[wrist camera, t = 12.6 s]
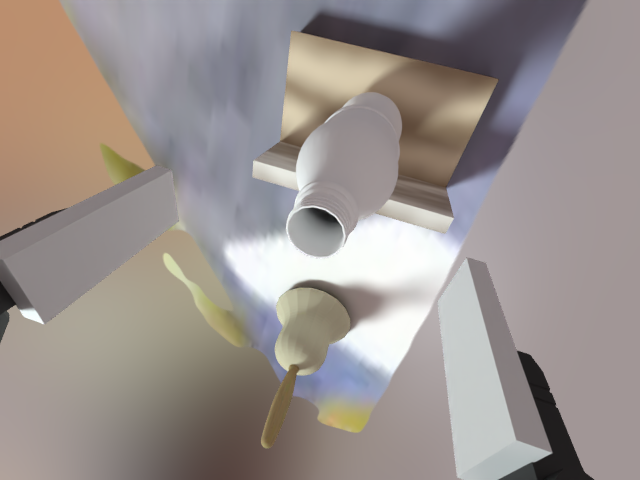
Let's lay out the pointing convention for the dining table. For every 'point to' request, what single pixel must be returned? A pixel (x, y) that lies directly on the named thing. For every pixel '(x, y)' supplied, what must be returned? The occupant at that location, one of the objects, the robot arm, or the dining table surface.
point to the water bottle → (345, 173)
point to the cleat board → (413, 104)
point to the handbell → (302, 344)
